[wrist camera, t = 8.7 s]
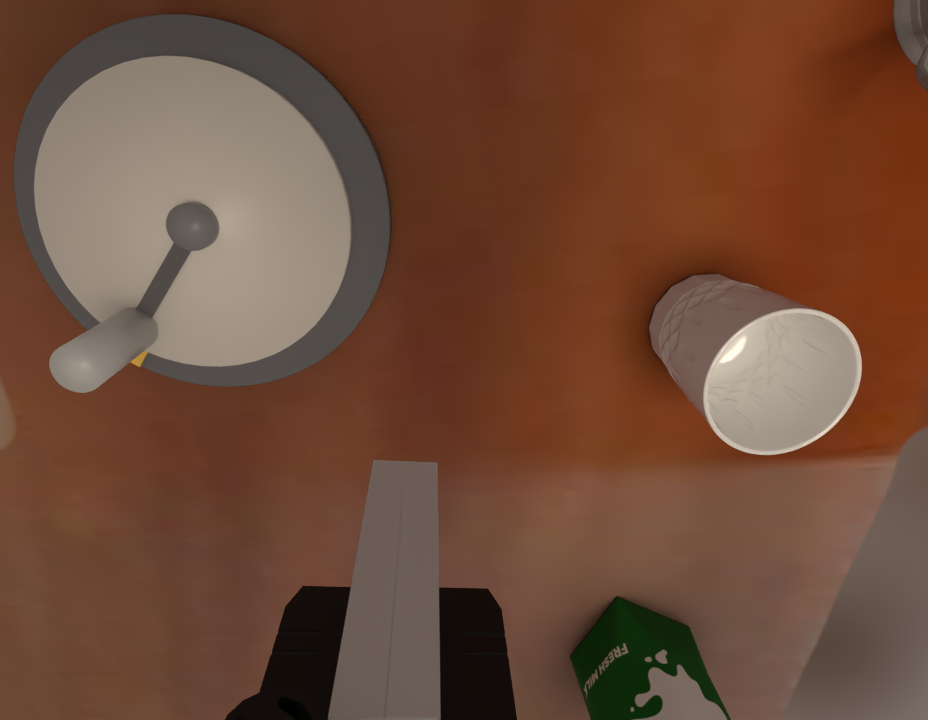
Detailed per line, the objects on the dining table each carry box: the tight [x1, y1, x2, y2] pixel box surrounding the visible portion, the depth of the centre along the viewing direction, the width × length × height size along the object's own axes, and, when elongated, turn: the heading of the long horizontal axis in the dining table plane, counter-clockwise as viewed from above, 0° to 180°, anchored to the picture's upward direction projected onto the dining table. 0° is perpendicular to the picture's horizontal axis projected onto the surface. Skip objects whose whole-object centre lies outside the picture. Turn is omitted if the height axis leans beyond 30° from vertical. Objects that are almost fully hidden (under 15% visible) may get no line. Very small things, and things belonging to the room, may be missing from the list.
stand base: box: [14, 14, 391, 386], centre depth 34 cm, size 20×20×2 cm
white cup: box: [649, 274, 862, 455], centre depth 34 cm, size 8×8×10 cm
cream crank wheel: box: [34, 56, 353, 393], centre depth 30 cm, size 16×16×8 cm
